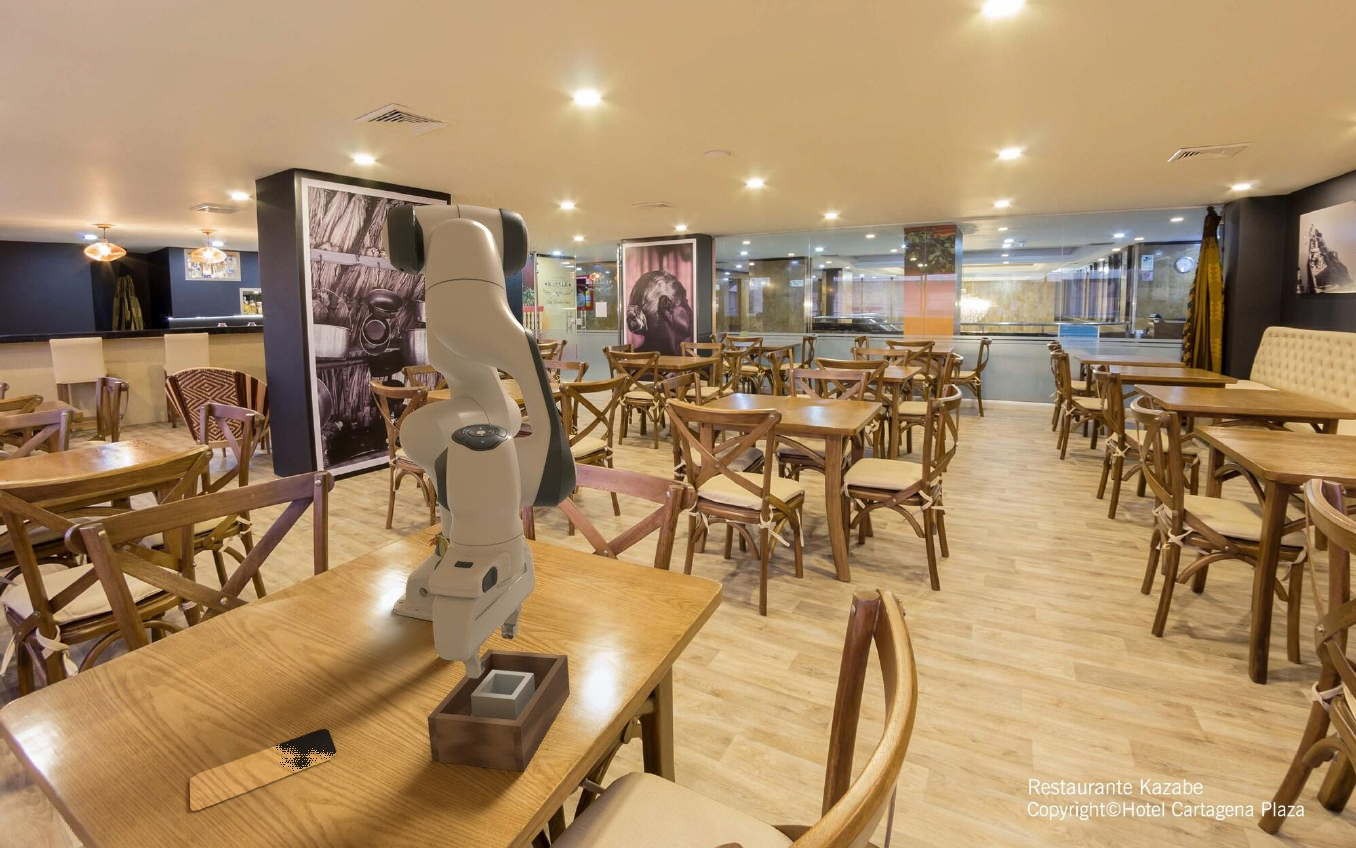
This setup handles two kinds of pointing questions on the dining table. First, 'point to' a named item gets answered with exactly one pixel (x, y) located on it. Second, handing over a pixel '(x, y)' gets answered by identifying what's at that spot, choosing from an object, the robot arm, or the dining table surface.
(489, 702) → the box
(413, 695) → the dining table surface
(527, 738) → the big crate
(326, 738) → the smartphone
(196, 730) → the dining table surface
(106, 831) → the dining table surface
